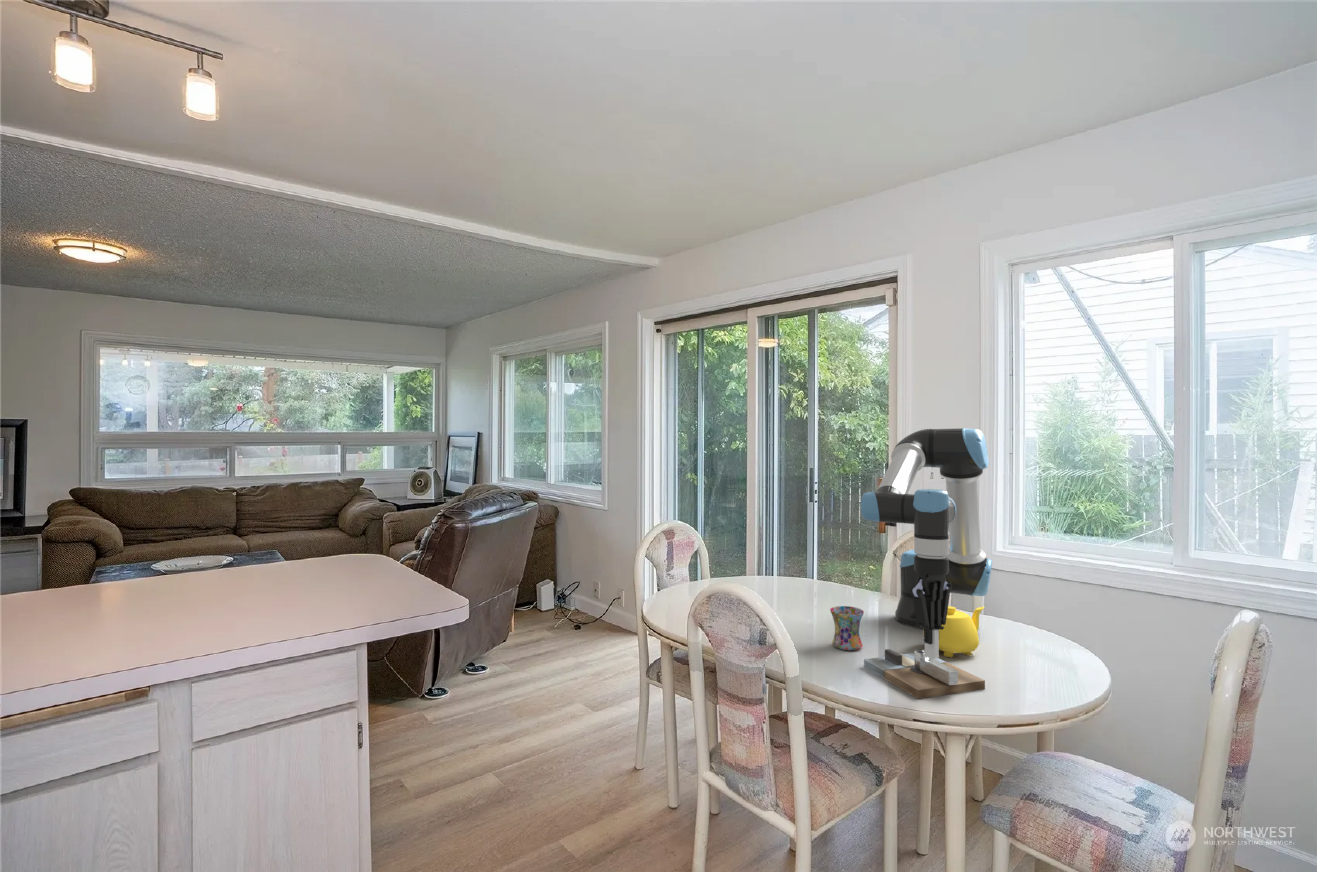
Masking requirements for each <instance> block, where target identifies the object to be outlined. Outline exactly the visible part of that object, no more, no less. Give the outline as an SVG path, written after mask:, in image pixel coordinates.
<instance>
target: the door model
mask: <svg viewBox="0 0 1317 872" xmlns="http://www.w3.org/2000/svg"><path fill="white" fill-rule="evenodd" d="M932 659H933V658H932ZM934 660H936V661H938V662H940V663H942V664H944V665H946V666H948V667H950V668H952V669H954V670H957V671H958V684H954V685H948V684H946V683H944V682H942V681H940V680H938V679H936V678H934V677H932V676H931V675H929V674H927V673H925V672H923V671H921V670H918V669H916V668H915V667H914V652H912V653H911V652H910V653H905V654H903V653H902V654H901V653H898V652H896V651H895V650H893V649H891V648H889V649H888V648H887V649H884V656H881V657H878V656H877V657H873V658H872V657H871V658H864V659H863V667H864V668H865V669H867V670H869V671H870V672H872V673H874V674H875V675H876V676H877V675H878V676H879V677H880V678H882V679H884V680H886V681H887V682H889V683H890V684H893V685H894V686H896V687H897V688H899V689H900V690H902V691H904V692H906V693H908V694H910V695H911V696H913V697H914V698H915V699H918V700H920V699H927V698H933V697H940V696H945V695H953V694H960V693H967V692H973V691H979V690H986V680H985V679H982V678H981V677H979V676H976V675H974V674H972V673H970V672H968V671H966V670H964V669H962V668H960V667H957V666H956V665H953V664H952V663H949V662H947V661H945V660H943V659H941V658H940V657H939V658H936V659H934Z"/></svg>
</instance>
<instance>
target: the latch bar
mask: <svg viewBox="0 0 1317 872" xmlns="http://www.w3.org/2000/svg"><path fill="white" fill-rule="evenodd" d="M913 653H914V667H915V668H916V669H918V670H921V671H923V672H925V673H927V674H929V675H931V676H932V677H934V678H936V679H938V680H940V681H942V682H944V683H946V684H948V685H954V684H958V671H957V670H954V669H952V668H950V667H948V666H946V665H944V664H942V663H940V662H938V661H936V660H934V659H932V658H930V657H927V656H925V649H922V648H918V649H915V650H914V652H913Z"/></svg>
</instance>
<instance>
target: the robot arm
mask: <svg viewBox="0 0 1317 872" xmlns="http://www.w3.org/2000/svg"><path fill="white" fill-rule="evenodd" d="M890 457H891V462H890V464H889V466H888V468H887V470H886V472H885V474H884V476H883V478H882V480H881V482H880V483H879V486H878V487H877V490H876V491H875V492H874V491H869V492H868V491H867V492H864V493H862V496H861V500H860V514H861V517H862V518H863V520H865V521H870V522H875V523H893V524H910V525H913V530H914V531H913V537H914V540H913V543H914V545H913V546H914V547H913V548H914V549H909V550H906V551H904V552H902V553H901V555H900V564H899V568H900V598H899V600H898V603H897V607H896V610H895V613H894V617H895V618H894V619H895V621H896V622H898V623H900V624H902V625H905V626H907V627H908V626H909V627H915V628H921V629H923V631H924V635H923V642H924V650H925V656H927V657H930V658H933V659H936V658H939V659H940V655H939V654H940V650H939V629H941V630H943V629H944V627H943V626H941V625H945V624H946V617H947V610H948V606H949V601H950V594H954V595H955V594H956V595H966V596H970V597H974V596H975V597H984V596H987V594H988V592H989V588H990V582H991V581H990V580H991V574H992V567H993V560H992V559H990V558H987V553H986V551H985V550H983V549H982V548H981V533H980V532H981V531H980V508H979V507H980V505H979V487H978V485H979V484H978V478H980V477H981V476H982V475H983V474H984V471H983V470H985V469H987V468H988V466H989V455H988V446H987V442H986V438H985V435H984V433H983V432H982V431H981V429H977V428H965V427H963V428H926V429H920V430H917V431H914V432H912V433H910V434H909V435H906V436H905V437H904V438H902V439H901V440H899V441H898V443H897V444H896V445H895V446H894V448H893V450H892V451H891V455H890ZM923 468H939V475H940V476H941V477H943V478H944V479H945V487H946V489H945V490H943V489H934V488H933V489H931V488H930V489H929V488H926V489H925V488H923V489H917V490H915V491H914V493H909V491H910V489H911V487H912V484H913V482H914V480H915V478H916V475H917V473H918V472H919V471H921V470H922V469H923Z"/></svg>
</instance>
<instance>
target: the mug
mask: <svg viewBox="0 0 1317 872" xmlns="http://www.w3.org/2000/svg"><path fill="white" fill-rule="evenodd" d="M829 611H830V613H831V616H832V620H833V623H834V635H833V639H832V641H831V645H832V646H833V647H835V648H837V649H839V650H843V651H857V650H860V649H862V648H863V643H862V640H861V636H860V624H861V621H862V618H863V616H864V613H865V610H863V609H861V608H859V607H856V606H848V605H839V606H838V605H837V606H832V607H831V608H829Z"/></svg>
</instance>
